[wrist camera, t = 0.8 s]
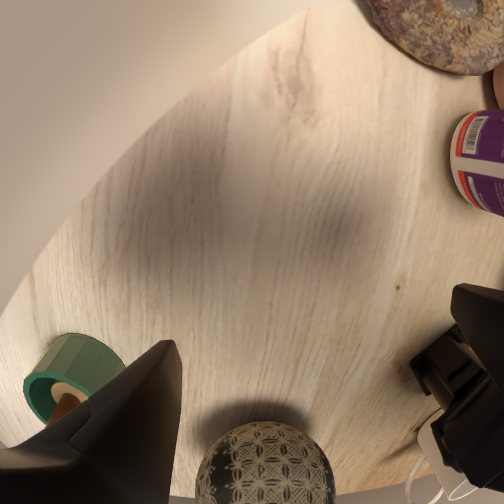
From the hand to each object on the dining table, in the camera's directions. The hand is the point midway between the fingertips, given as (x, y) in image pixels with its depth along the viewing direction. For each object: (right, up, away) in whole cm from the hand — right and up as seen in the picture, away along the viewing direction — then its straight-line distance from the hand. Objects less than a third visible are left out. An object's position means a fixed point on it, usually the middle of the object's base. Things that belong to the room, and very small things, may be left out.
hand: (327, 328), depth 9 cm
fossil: (+11, +17, +9) cm, 23 cm away
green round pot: (-17, -8, +15) cm, 24 cm away
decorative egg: (-2, -16, +19) cm, 25 cm away
